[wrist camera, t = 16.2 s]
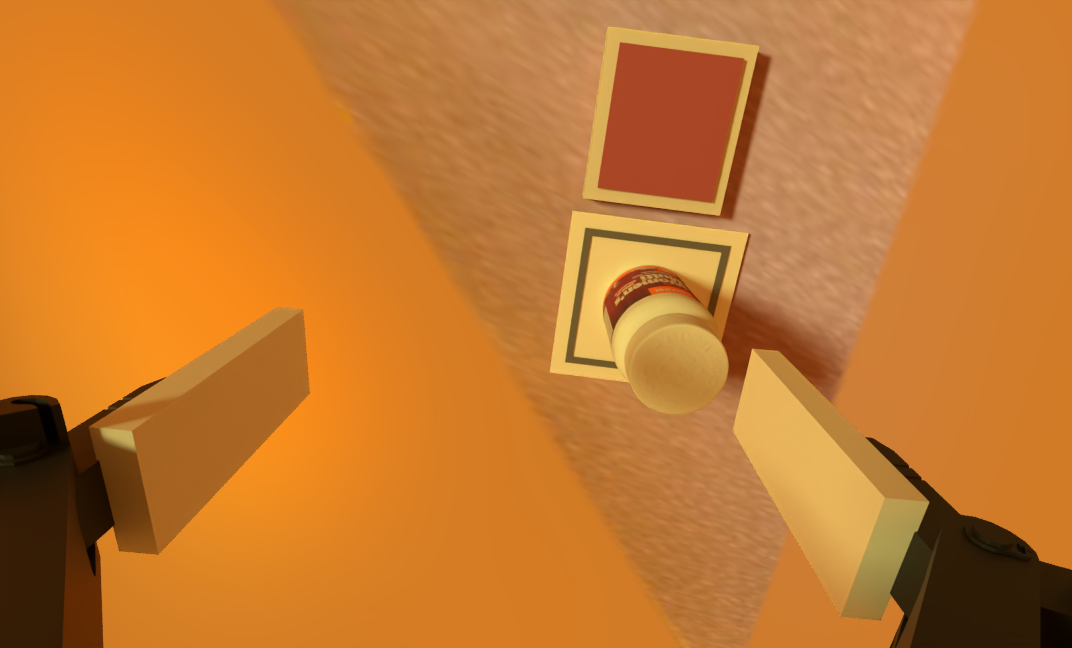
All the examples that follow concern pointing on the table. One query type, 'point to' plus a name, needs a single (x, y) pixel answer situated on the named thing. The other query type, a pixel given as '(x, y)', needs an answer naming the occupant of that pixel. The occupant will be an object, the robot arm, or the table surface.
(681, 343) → the pill bottle
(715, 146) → the pad
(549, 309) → the table surface
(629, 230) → the paper sheet
